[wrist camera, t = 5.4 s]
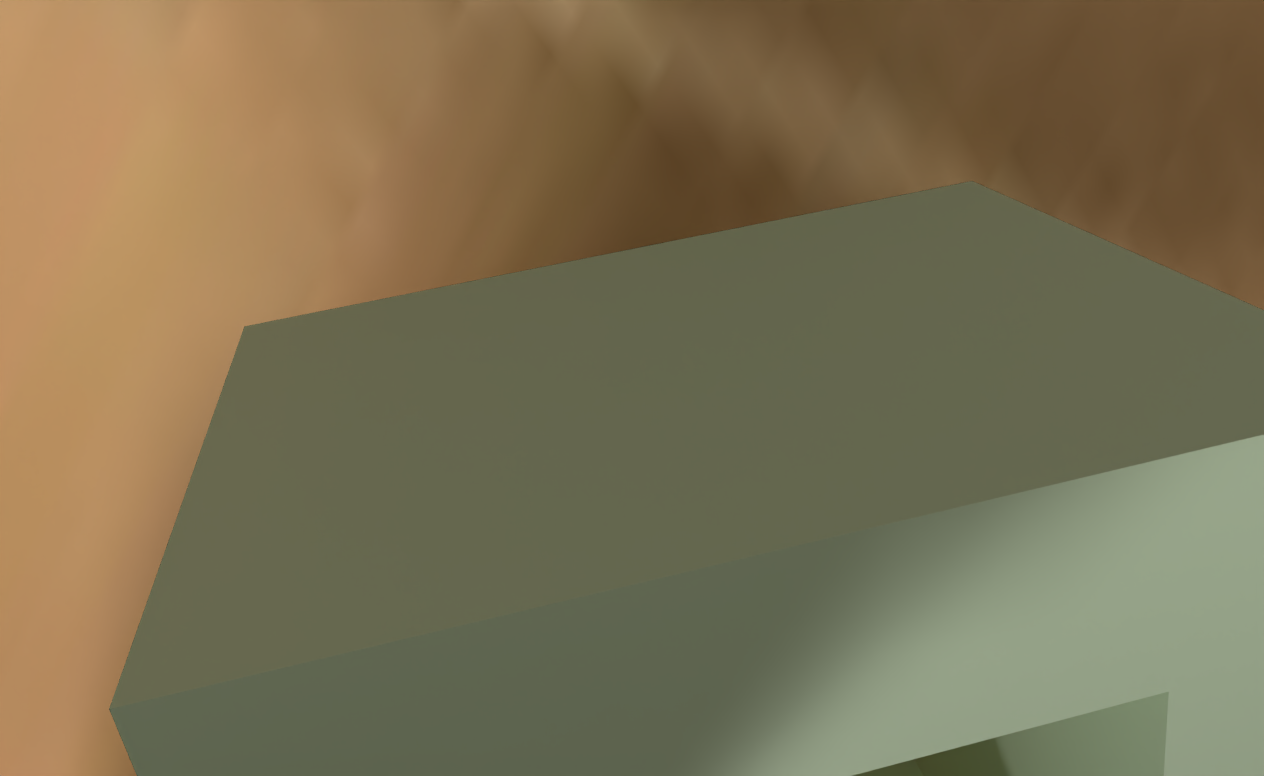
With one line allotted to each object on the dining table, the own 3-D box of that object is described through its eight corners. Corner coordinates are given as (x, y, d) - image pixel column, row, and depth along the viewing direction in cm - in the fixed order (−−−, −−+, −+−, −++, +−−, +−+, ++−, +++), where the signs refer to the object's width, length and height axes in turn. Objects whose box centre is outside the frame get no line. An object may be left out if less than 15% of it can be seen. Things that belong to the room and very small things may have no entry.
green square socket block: (984, 740, 18) (1315, 1194, 11) (416, 891, 17) (433, 1486, 10) (972, 181, 14) (1445, 390, 8) (244, 327, 13) (109, 709, 7)
